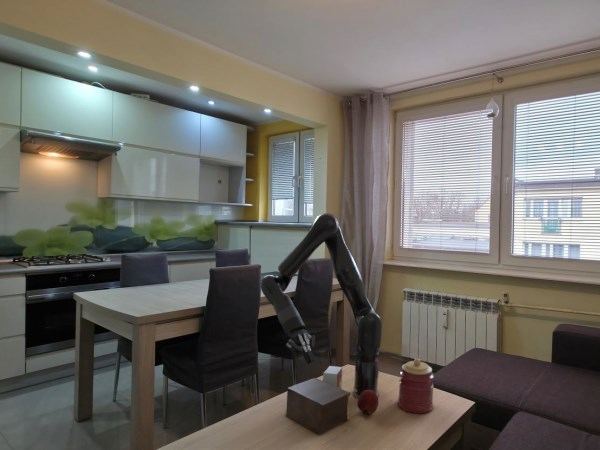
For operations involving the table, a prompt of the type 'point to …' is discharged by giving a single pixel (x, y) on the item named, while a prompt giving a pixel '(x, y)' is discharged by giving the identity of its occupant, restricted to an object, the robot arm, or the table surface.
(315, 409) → the chest
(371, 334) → the robot arm
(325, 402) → the lid
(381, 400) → the table surface
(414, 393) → the kitchen canister
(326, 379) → the small box
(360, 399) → the apple
